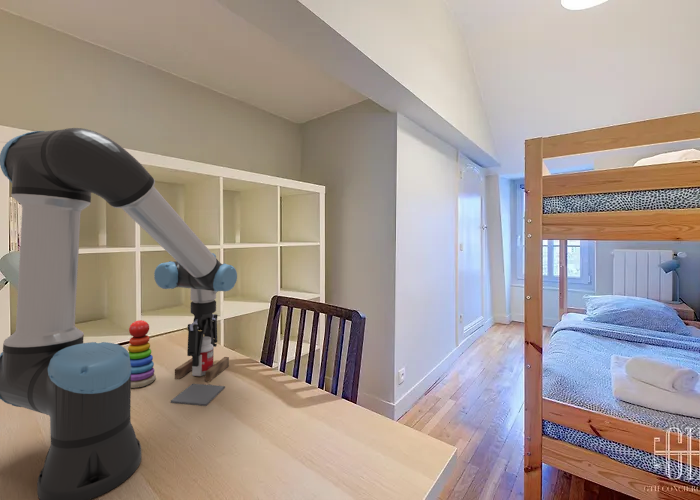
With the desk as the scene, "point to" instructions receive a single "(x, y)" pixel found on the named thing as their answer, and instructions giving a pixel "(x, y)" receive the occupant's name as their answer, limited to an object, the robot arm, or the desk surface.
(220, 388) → the coaster
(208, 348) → the pill bottle
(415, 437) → the desk surface
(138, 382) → the stacking toy
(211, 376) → the pair of wooden rails
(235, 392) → the desk surface
